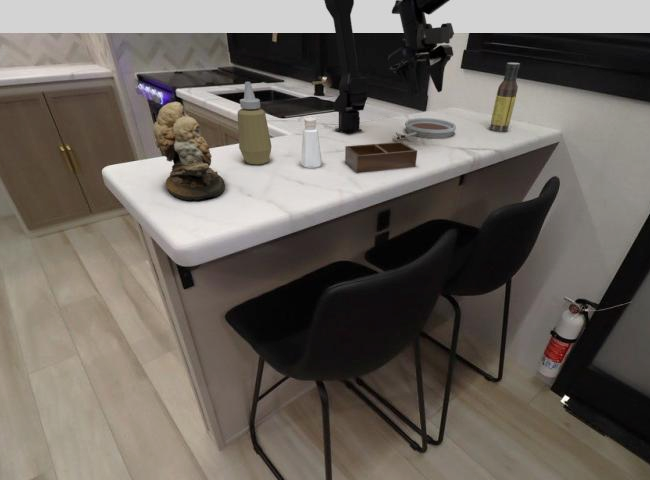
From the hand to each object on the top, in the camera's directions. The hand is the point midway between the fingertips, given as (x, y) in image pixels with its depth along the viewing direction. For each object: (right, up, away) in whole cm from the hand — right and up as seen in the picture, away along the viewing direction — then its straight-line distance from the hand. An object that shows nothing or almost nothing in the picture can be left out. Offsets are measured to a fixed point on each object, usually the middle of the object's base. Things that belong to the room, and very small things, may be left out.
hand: (428, 93), depth 96 cm
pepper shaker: (-30, -18, +1) cm, 35 cm away
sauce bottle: (+31, +6, +35) cm, 47 cm away
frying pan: (+3, +1, +27) cm, 27 cm away
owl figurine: (-54, -28, -14) cm, 62 cm away
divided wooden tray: (-12, -17, +2) cm, 21 cm away
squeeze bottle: (-44, -17, +1) cm, 47 cm away
